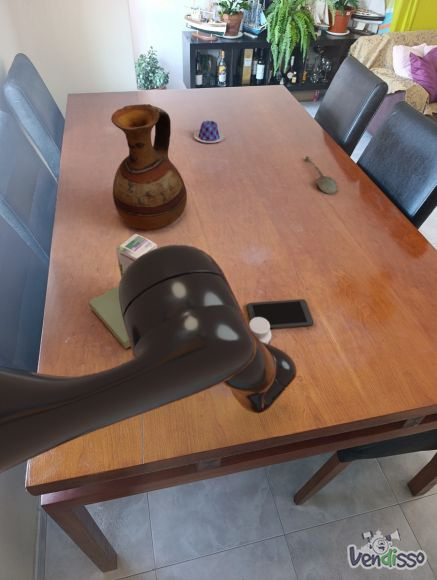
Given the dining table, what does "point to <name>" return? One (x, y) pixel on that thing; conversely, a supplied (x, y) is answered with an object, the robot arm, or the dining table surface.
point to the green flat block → (111, 314)
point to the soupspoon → (325, 181)
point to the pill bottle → (261, 329)
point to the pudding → (209, 132)
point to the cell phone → (282, 313)
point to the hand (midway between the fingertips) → (143, 267)
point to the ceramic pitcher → (147, 170)
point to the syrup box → (133, 250)
